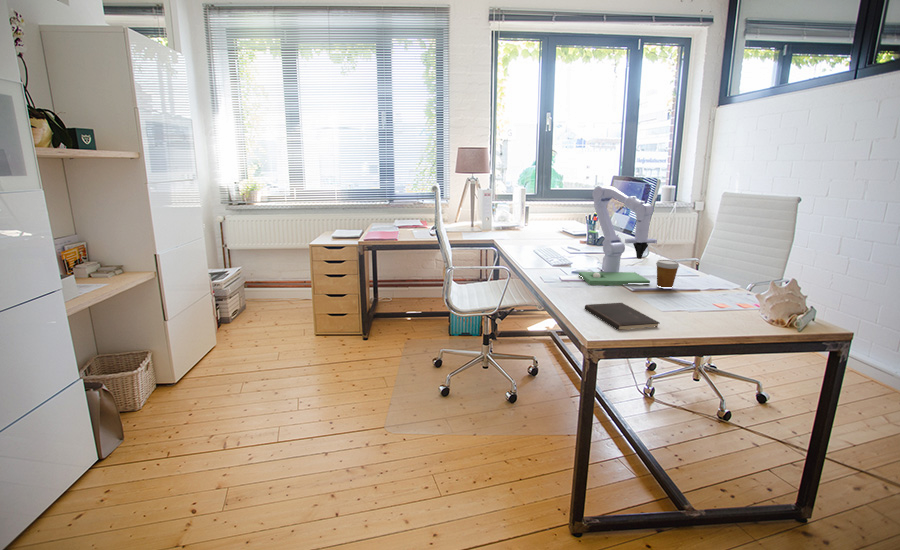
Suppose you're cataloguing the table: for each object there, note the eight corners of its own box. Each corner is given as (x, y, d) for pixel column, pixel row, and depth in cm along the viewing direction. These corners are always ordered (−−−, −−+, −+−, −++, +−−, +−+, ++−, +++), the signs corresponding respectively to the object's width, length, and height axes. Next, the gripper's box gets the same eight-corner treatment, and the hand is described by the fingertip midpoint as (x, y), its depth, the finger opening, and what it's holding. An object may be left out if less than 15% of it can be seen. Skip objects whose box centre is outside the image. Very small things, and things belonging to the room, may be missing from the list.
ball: (598, 276, 227) (592, 279, 226) (596, 270, 225) (590, 273, 225) (602, 278, 224) (596, 282, 223) (601, 272, 222) (594, 275, 222)
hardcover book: (621, 308, 187) (621, 302, 186) (658, 328, 165) (659, 322, 165) (584, 310, 183) (584, 304, 183) (617, 331, 162) (618, 325, 161)
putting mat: (578, 276, 232) (579, 272, 232) (634, 276, 234) (635, 272, 233) (589, 284, 217) (590, 280, 216) (649, 285, 218) (650, 280, 218)
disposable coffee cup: (679, 290, 210) (683, 264, 207) (658, 290, 210) (661, 263, 207) (670, 285, 219) (674, 259, 216) (649, 284, 219) (653, 259, 216)
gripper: (630, 231, 218) (627, 260, 221) (661, 231, 218) (658, 260, 222) (624, 228, 224) (621, 257, 228) (654, 228, 225) (651, 257, 228)
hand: (639, 258), depth 225 cm, fingers closed
